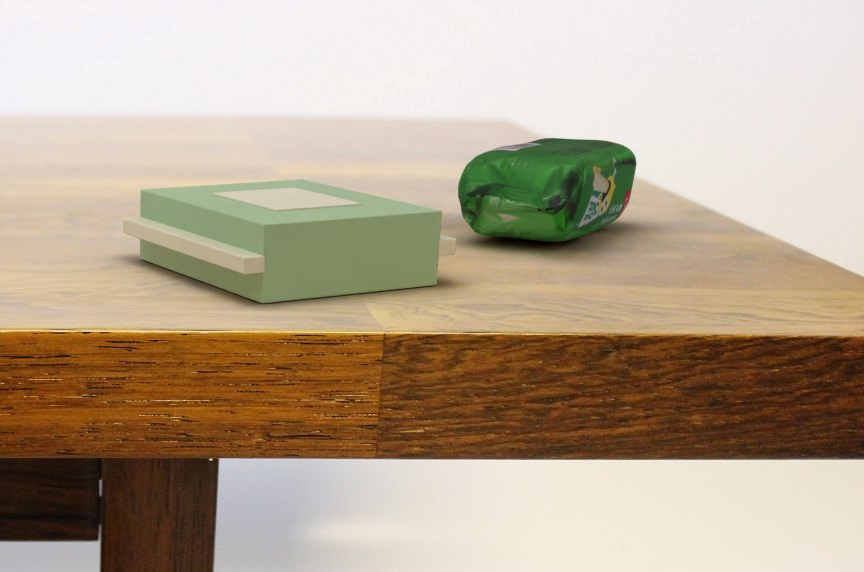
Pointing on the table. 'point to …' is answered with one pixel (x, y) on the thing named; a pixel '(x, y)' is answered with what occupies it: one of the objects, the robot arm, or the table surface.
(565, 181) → the snack package
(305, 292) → the green block with rails
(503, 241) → the table surface
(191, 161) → the table surface
